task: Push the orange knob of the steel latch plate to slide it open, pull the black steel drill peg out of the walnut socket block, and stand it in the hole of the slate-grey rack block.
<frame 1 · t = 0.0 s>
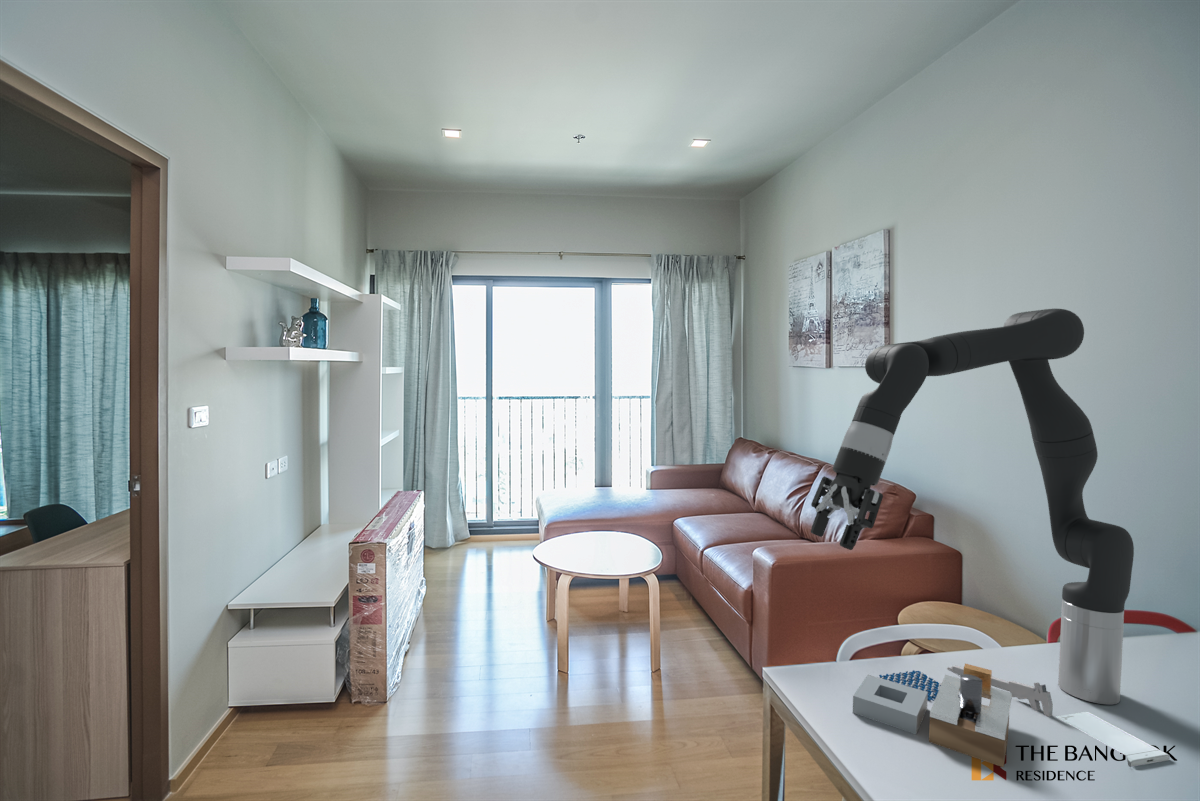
hand: (830, 541, 102), 31 cm above the table, tool tilted 20°, fingers open, 8 cm apart
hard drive: (1107, 744, 100), on the table
rack block: (889, 716, 105), on the table
socket block: (968, 745, 97), on the table
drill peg: (968, 739, 97), point 1 cm above the table, touching socket block
woven mat: (916, 694, 114), on the table
latch plate: (968, 745, 97), resting on socket block, slide at 0.0 cm
caliper: (994, 695, 114), on the table
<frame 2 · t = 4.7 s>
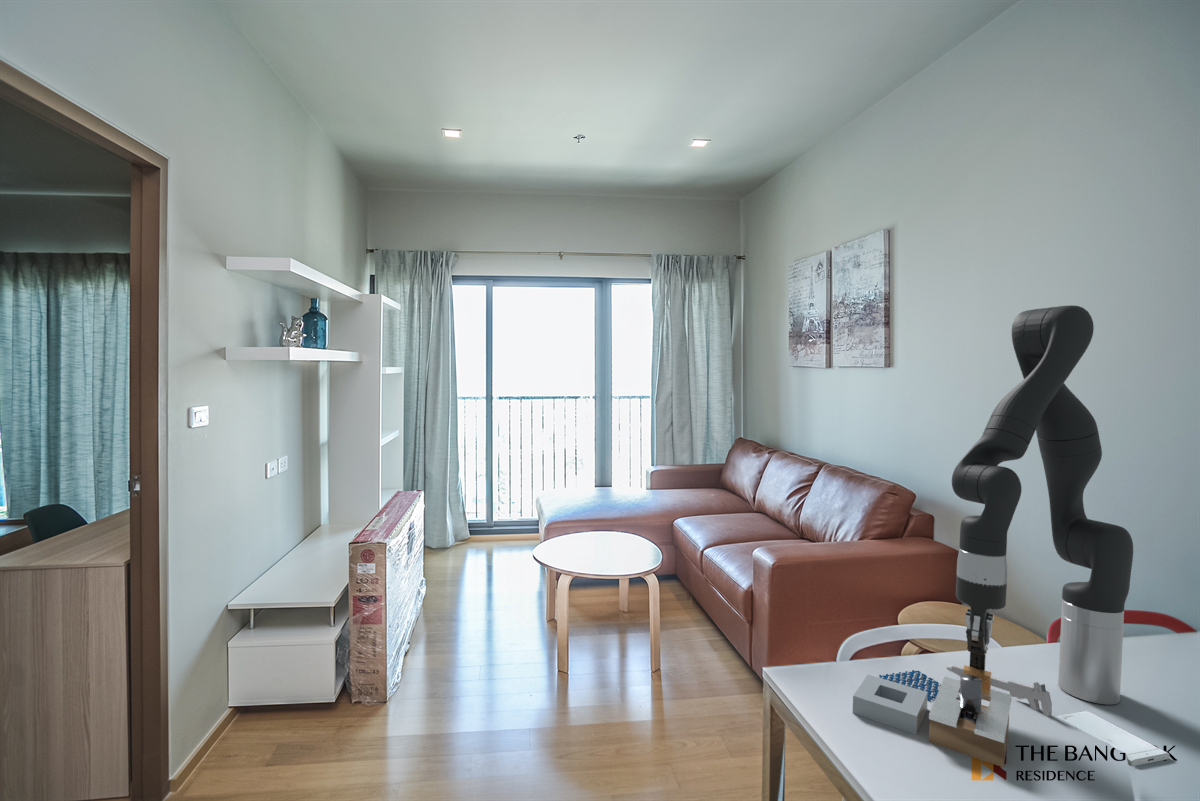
hand: (977, 672, 106), 8 cm above the table, tool pointing down, fingers closed
latch plate: (968, 747, 97), resting on socket block, slide at 0.9 cm, touching gripper
everything else where it was.
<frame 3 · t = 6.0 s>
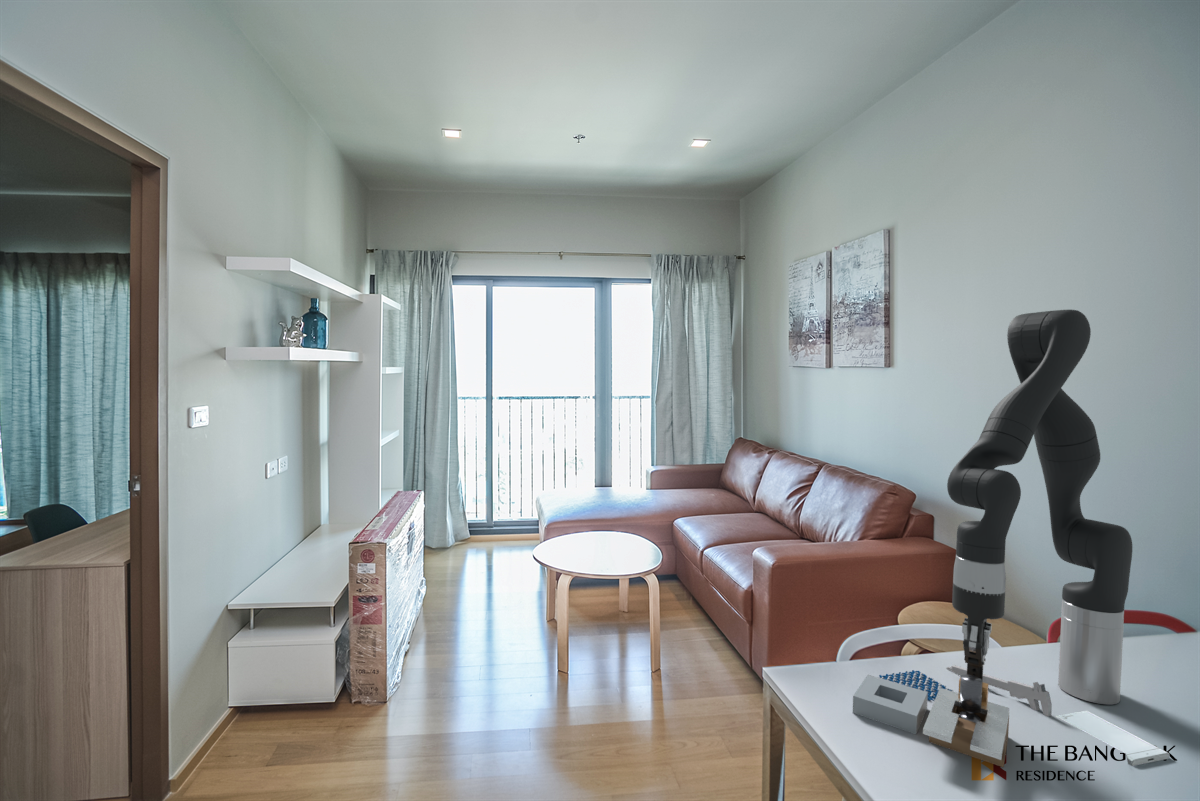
hand: (974, 684, 102), 7 cm above the table, tool pointing down, fingers closed
latch plate: (963, 763, 92), resting on socket block, slide at 6.1 cm, touching gripper
everything else where it was.
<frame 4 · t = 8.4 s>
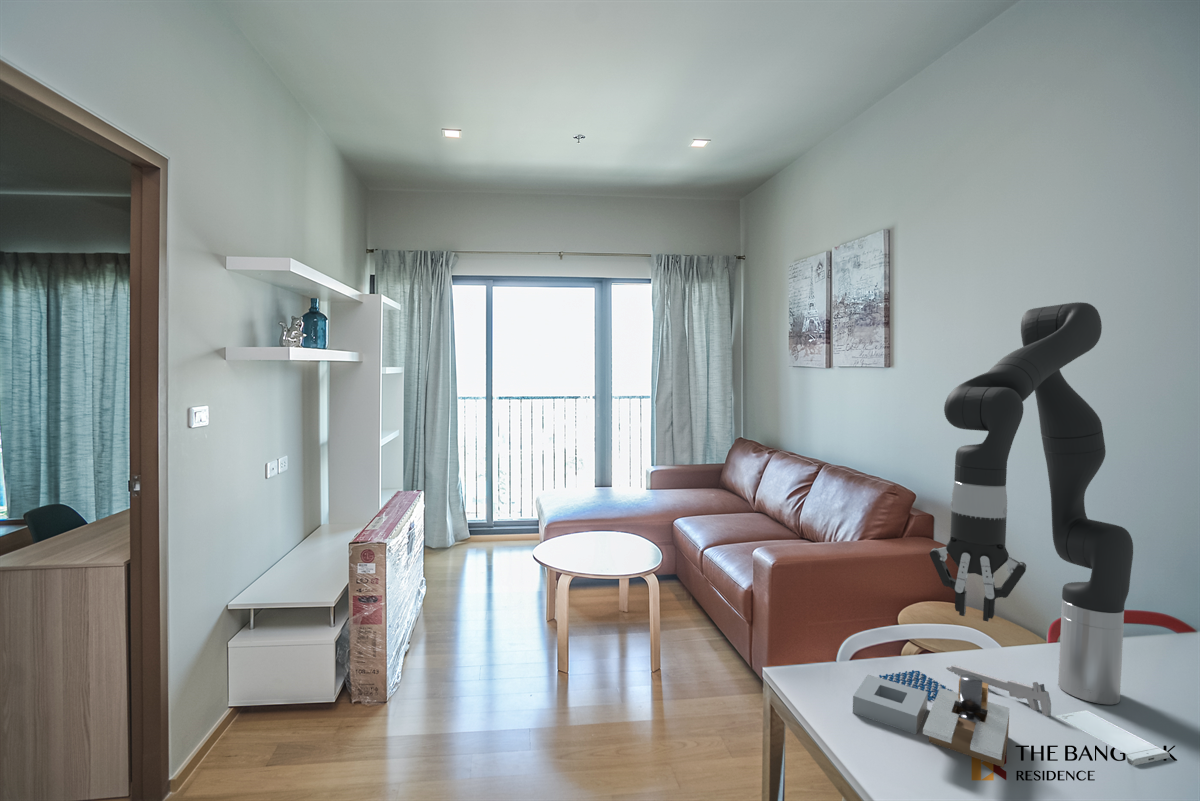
hand: (973, 616, 97), 21 cm above the table, tool pointing down, fingers open, 2 cm apart
latch plate: (963, 763, 92), resting on socket block, slide at 6.1 cm
everything else where it was.
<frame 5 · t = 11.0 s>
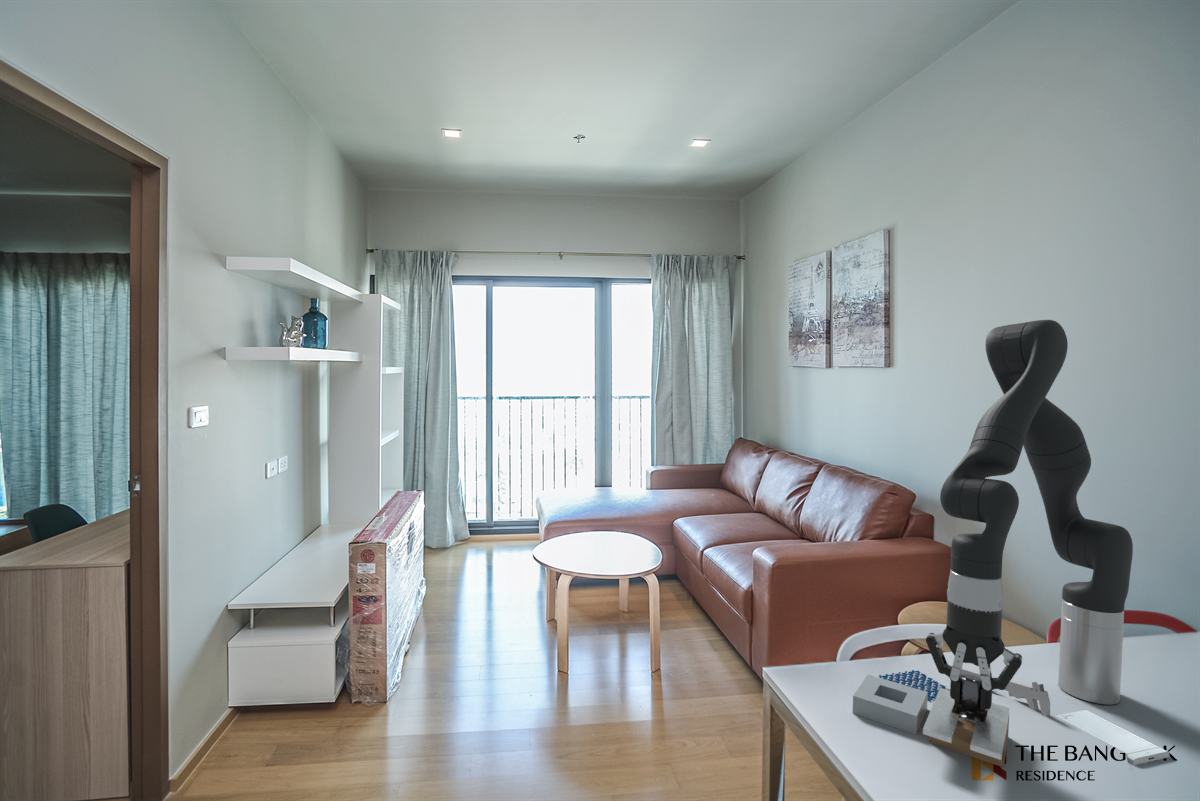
hand: (970, 705, 97), 7 cm above the table, tool pointing down, fingers closed on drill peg, 3 cm apart
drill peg: (968, 739, 97), point 1 cm above the table, touching gripper, socket block
everything else where it was.
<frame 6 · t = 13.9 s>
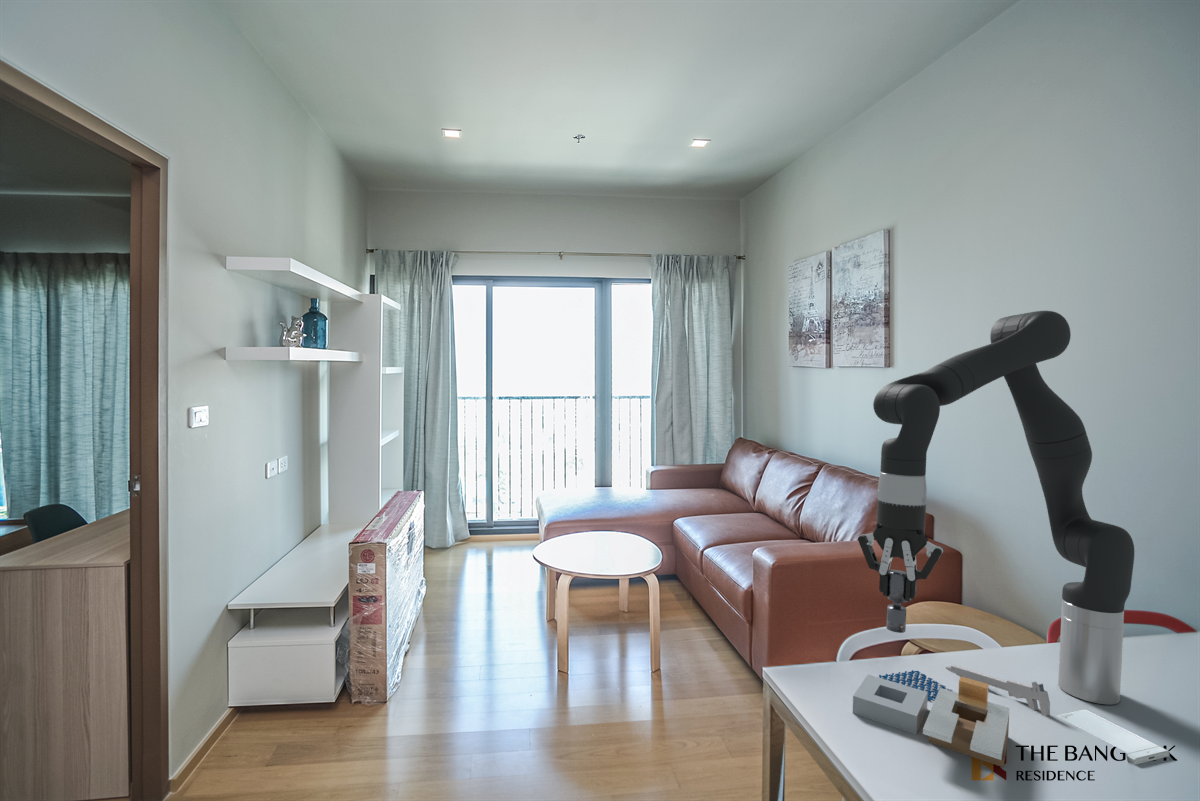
hand: (897, 597, 104), 21 cm above the table, tool pointing down, fingers closed on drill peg, 3 cm apart
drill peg: (895, 629, 104), point 16 cm above the table, touching gripper
everything else where it was.
when the fingers open (8 cm above the table, at t = 16.8 s): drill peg stays where it is, resting on rack block.
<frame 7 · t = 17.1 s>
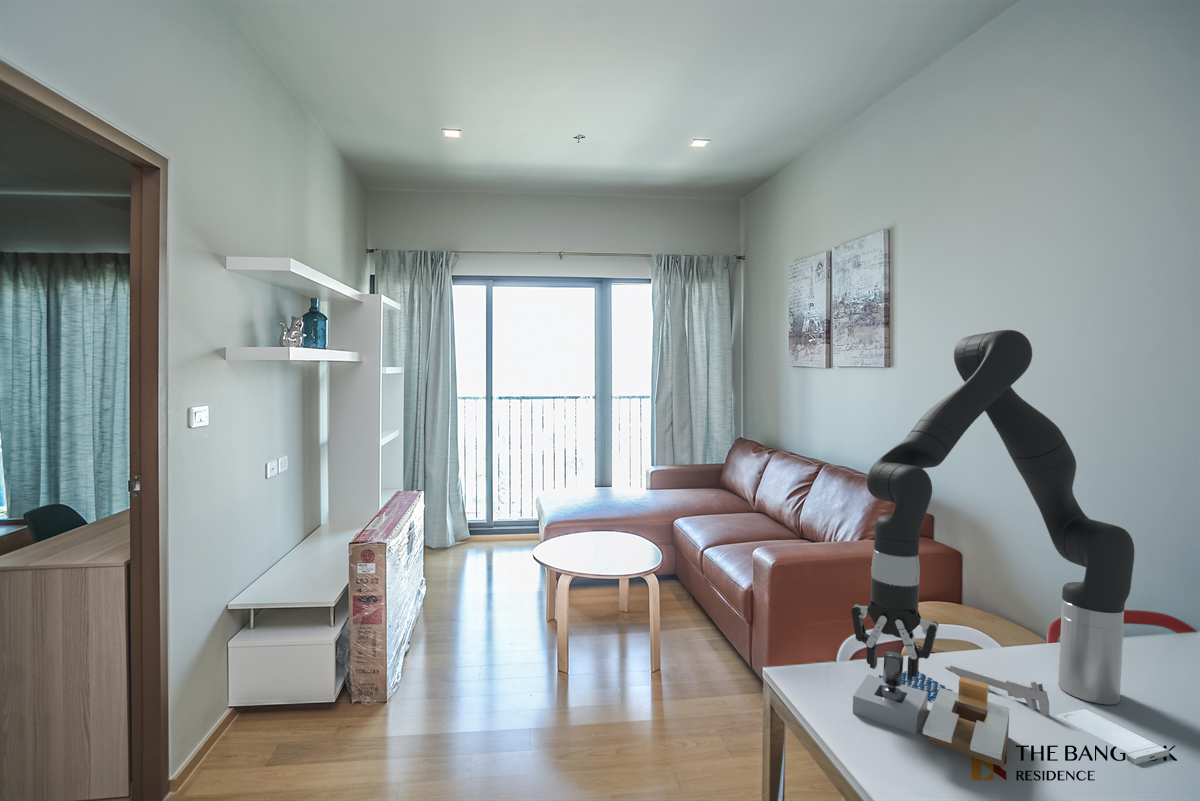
hand: (891, 671, 105), 8 cm above the table, tool pointing down, fingers open, 5 cm apart
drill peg: (890, 710, 105), point 1 cm above the table, touching rack block
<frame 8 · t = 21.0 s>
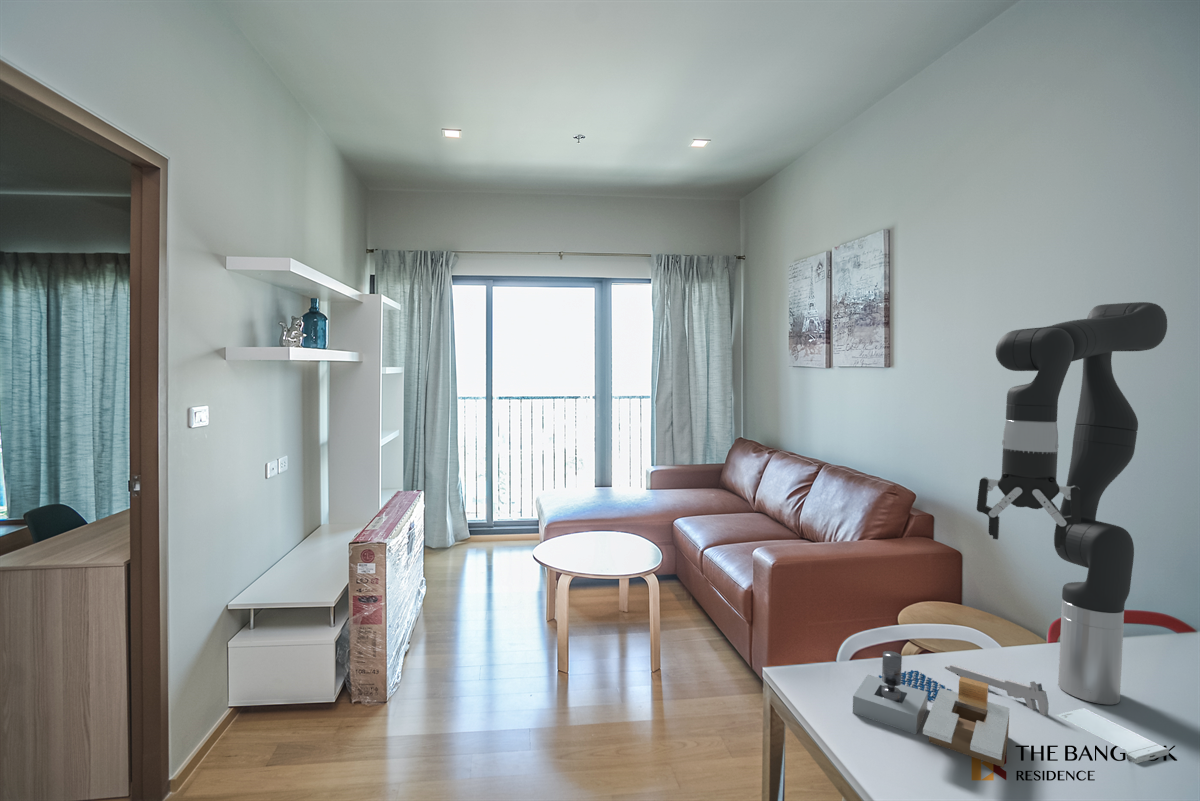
hand: (1025, 542, 101), 32 cm above the table, tool pointing down, fingers open, 8 cm apart
at the end: latch plate slide at 6.1 cm; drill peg 0.0 cm off-centre on the rack block, point 1.0 cm above the rack block's base; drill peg tilted 0° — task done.
